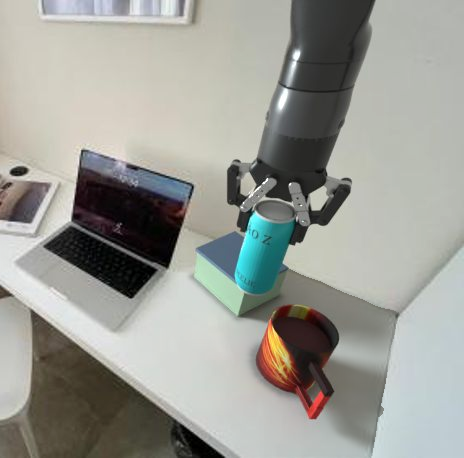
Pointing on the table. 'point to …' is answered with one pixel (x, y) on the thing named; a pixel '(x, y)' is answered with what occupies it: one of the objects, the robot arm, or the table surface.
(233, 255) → the box lid
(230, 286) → the storage box
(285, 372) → the mug
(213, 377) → the table surface
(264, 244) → the beverage can
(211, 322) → the table surface
